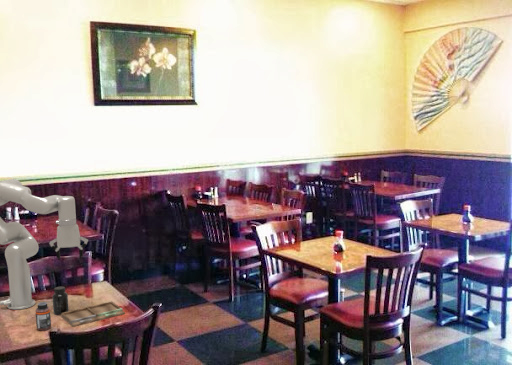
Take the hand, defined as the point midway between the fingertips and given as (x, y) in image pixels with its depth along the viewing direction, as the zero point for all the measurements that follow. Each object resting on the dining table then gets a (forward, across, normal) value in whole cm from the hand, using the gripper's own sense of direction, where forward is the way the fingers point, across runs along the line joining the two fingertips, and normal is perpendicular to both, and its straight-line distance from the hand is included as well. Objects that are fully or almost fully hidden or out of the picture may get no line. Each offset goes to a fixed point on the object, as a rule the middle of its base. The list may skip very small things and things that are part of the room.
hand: (69, 258), depth 254 cm
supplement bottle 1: (+25, -10, -21) cm, 34 cm away
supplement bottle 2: (+25, -5, -3) cm, 26 cm away
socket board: (+25, +10, -11) cm, 29 cm away
